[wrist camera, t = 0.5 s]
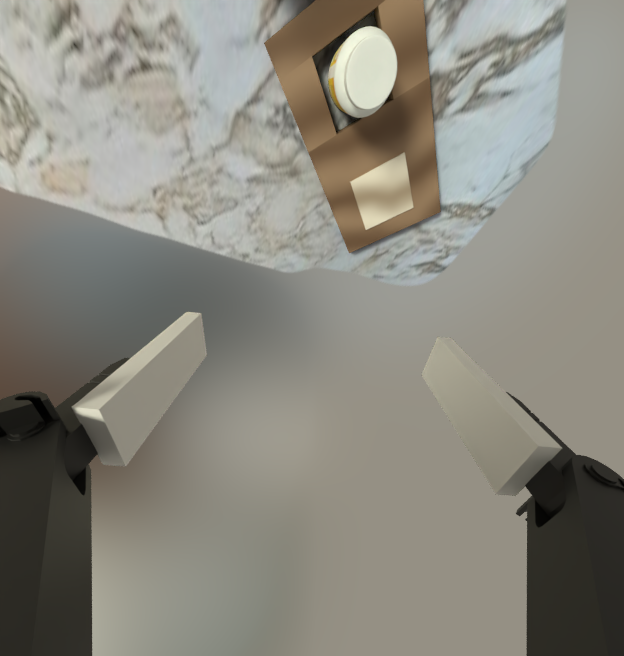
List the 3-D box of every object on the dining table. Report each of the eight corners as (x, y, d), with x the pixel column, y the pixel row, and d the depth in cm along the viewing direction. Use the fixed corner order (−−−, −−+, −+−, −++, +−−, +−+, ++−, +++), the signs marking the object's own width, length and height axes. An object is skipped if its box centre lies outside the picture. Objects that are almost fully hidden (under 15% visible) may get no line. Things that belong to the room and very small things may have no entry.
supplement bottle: (333, 33, 22) (347, 6, 16) (385, 46, 23) (420, 26, 16) (323, 108, 26) (331, 113, 19) (368, 118, 27) (390, 125, 20)
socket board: (265, 45, 23) (263, 42, 22) (409, -74, 19) (417, -86, 18) (347, 248, 38) (349, 253, 37) (436, 208, 34) (441, 212, 33)
